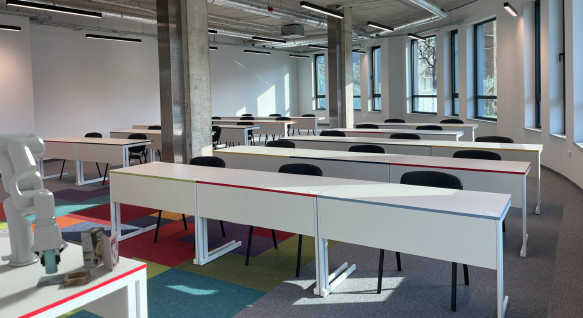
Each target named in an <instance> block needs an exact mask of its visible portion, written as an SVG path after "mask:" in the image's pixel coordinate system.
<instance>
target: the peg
mask: <svg viewBox="0 0 583 318" xmlns="http://www.w3.org/2000/svg"><path fill="white" fill-rule="evenodd" d="M43 254H44V262H45V266H44V270H45V274H46V275H55V274H57V273H58V272H59V268H58V267H59V266H58V265H57V264H56V251H55V249H53V250H46V251H43Z"/></svg>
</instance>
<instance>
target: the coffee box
mask: <svg viewBox="0 0 583 318" xmlns="http://www.w3.org/2000/svg"><path fill="white" fill-rule="evenodd" d="M100 233H102V234H104V235H105V236H106V233H105V227H103V226H95V227H93V226H92V227H90V228H88V229H85V230H84V231H81V232H80V239H81V249H82V258H83V259H82V261H83V267H84V268H94V267H95V268H97V266H98V267H99V266H101V265H103V264H102V263H103V255H102V245H101V234H100ZM100 264H101V265H100Z"/></svg>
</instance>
